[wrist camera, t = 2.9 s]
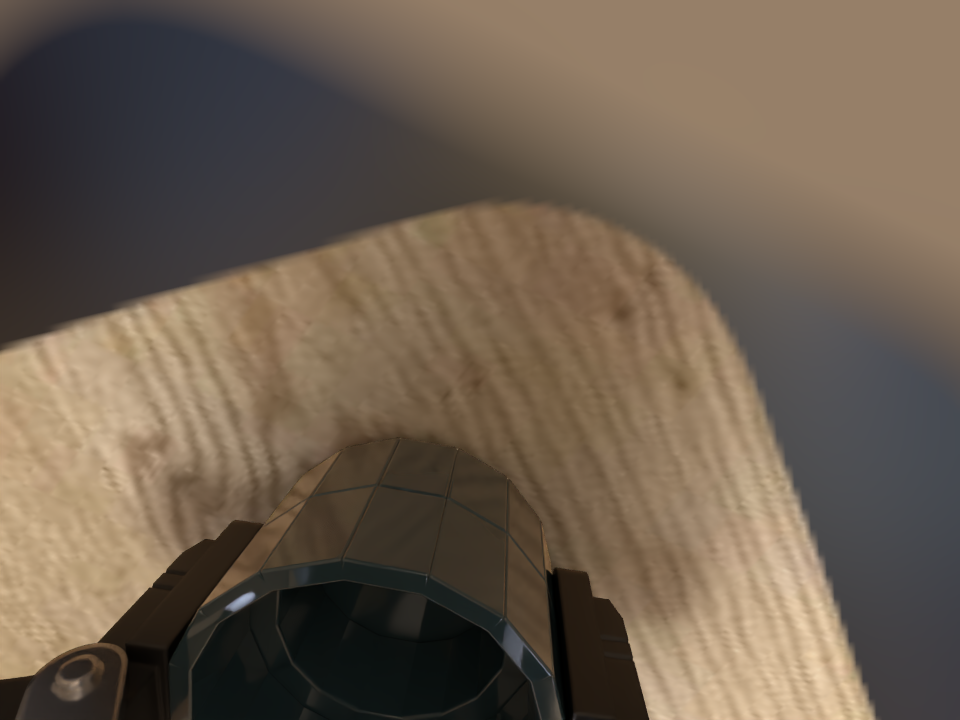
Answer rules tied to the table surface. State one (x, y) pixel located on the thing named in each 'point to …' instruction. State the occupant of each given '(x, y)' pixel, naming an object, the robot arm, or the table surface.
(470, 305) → the table surface
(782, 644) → the table surface
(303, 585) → the cup
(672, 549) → the table surface
